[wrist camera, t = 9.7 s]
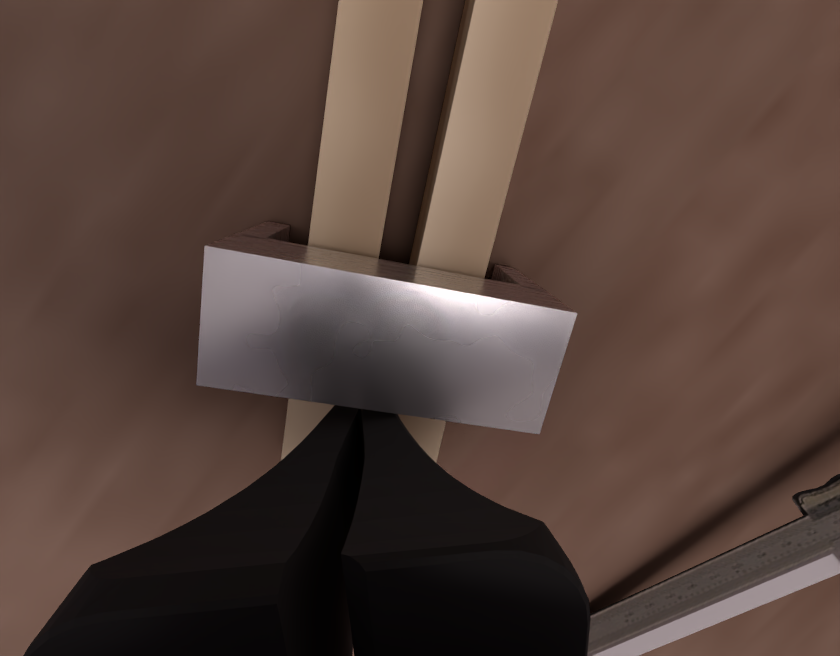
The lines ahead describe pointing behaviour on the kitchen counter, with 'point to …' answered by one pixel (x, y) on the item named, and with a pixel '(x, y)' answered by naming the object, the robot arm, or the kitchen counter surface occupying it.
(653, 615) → the caliper
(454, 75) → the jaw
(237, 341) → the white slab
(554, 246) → the kitchen counter surface
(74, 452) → the kitchen counter surface
